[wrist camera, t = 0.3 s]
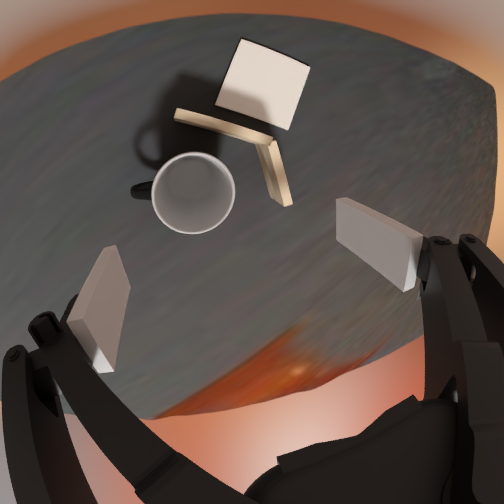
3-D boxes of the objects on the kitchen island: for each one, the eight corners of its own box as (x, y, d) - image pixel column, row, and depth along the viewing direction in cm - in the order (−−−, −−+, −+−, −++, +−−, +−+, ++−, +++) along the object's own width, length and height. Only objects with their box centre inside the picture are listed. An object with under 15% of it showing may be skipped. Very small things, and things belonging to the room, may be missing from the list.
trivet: (214, 105, 33) (215, 104, 32) (240, 40, 29) (241, 39, 29) (286, 130, 36) (288, 130, 36) (308, 68, 33) (310, 67, 32)
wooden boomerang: (161, 167, 34) (157, 173, 29) (177, 112, 32) (177, 108, 27) (275, 198, 40) (290, 208, 35) (293, 149, 38) (311, 152, 33)
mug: (222, 146, 35) (236, 150, 26) (222, 208, 39) (235, 231, 30) (135, 152, 33) (119, 158, 24) (140, 214, 36) (128, 240, 27)
